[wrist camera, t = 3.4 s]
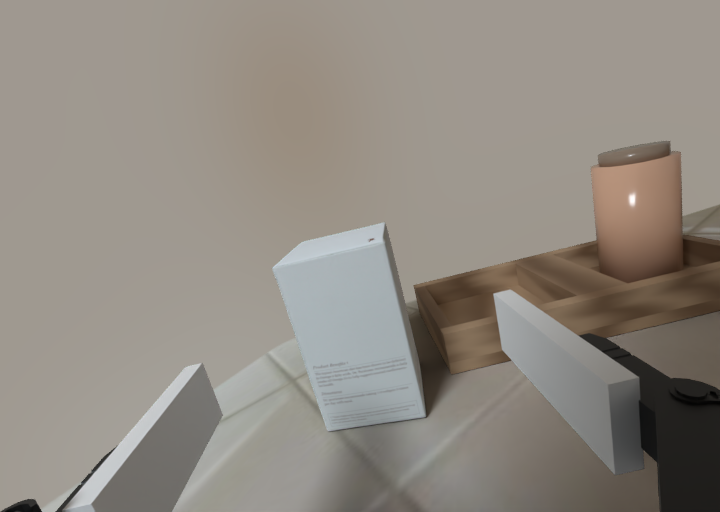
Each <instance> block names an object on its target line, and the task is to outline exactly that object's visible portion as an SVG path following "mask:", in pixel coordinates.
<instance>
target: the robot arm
mask: <svg viewBox="0 0 720 512" xmlns="http://www.w3.org/2000/svg"><path fill="white" fill-rule="evenodd" d="M493 295H494V301H495V307H496V314H497V320H498V327H499V333H500V339H501V346H502V350H503V351H504V352H505V353H506V355H507V356H508V357H509V358H510V359H511V360H512V361H513V362H514V363H515V365H516V366H517V367H518V368H519V369H520V370H521V371H522V372H523V373H524V375H525V376H526V377H527V378H528V379H529V380H530V381H531V382H532V383H533V385H534V386H535V387H536V388H537V389H538V390H539V391H540V392H541V393H542V395H543V396H544V397H545V398H546V399H547V400H548V401H549V402H550V403H551V405H552V406H553V407H554V408H555V409H556V410H557V411H558V412H559V413H560V415H561V416H562V417H563V418H564V419H565V420H566V421H567V422H568V423H569V425H570V426H571V427H572V428H573V429H574V430H575V431H576V432H577V434H578V435H579V436H580V437H581V438H582V439H583V440H584V441H585V442H586V444H587V445H588V446H589V447H590V448H591V449H592V450H593V451H594V452H595V454H596V455H597V456H598V457H599V458H600V459H601V460H602V461H603V462H604V464H605V465H606V466H607V467H608V468H609V469H610V470H611V471H612V472H613V474H614V475H619V474H623V473H628V472H632V471H637V470H641V469H644V458H643V450H644V451H645V452H646V453H647V454H649V455H650V456H651V457H652V458H653V459H654V460H655V461H656V462H657V467H658V490H659V505H660V512H720V390H718V389H717V388H715V387H713V386H710V385H708V384H705V383H703V382H699V381H695V380H690V379H681V378H672V379H671V378H669V377H668V376H666V375H664V374H663V373H661V372H660V371H658V370H656V369H655V368H653V367H651V366H650V365H648V364H647V363H645V362H643V361H642V360H640V359H639V358H637V357H635V356H634V355H633V356H632V355H631V353H629V352H627V351H626V350H624V349H620V347H619V346H618V345H616V344H614V343H613V342H611V341H610V340H608V339H606V338H603V337H600V336H597V335H594V334H591V333H587V334H583V335H579V336H578V335H576V334H575V333H574V332H572V331H571V330H569V329H568V328H566V327H565V326H563V325H562V324H560V323H559V322H557V321H556V320H555V319H553V318H552V317H550V316H549V315H547V314H546V313H544V312H543V311H541V310H540V309H538V308H537V307H536V306H534V305H533V304H531V303H530V302H528V301H527V300H525V299H524V298H522V297H521V296H519V295H518V294H517V293H515V292H514V291H512V290H511V289H510V290H506V291H502V292H498V293H494V294H493ZM222 416H223V414H222V412H221V409H220V406H219V404H218V401H217V399H216V396H215V394H214V391H213V388H212V386H211V383H210V381H209V378H208V376H207V373H206V370H205V368H204V365H203V363H199V364H195V365H191V366H187V367H185V368H184V369H183V371H182V372H181V373H180V374H179V375H178V376H177V378H176V379H175V380H174V381H173V382H172V384H171V385H170V386H169V387H168V388H167V389H166V390H165V392H164V393H163V394H162V395H161V396H160V398H159V399H158V400H157V401H156V402H155V403H154V404H153V405H152V407H151V408H150V409H149V410H148V411H147V412H146V414H145V415H144V416H143V417H142V418H141V419H140V421H139V422H138V423H137V424H136V425H135V426H134V428H133V429H132V430H131V431H130V432H129V433H128V435H127V436H126V437H125V438H124V439H123V440H122V441H121V443H120V444H119V445H118V446H117V447H115V448H114V449H113V450H112V451H111V452H109V453H108V454H107V455H106V456H104V457H103V459H101V461H100V462H99V463H98V464H97V465H96V466H95V467H94V469H93V470H92V472H91V473H90V474H88V475H87V477H86V478H85V479H84V480H83V481H82V482H81V485H79V486H78V487H77V488H76V489H75V490H74V491H73V493H72V494H71V495H70V496H69V497H68V498H67V499H66V500H65V502H64V503H63V504H62V505H61V506H60V507H59V508H58V510H57V511H56V512H172V510H173V508H174V506H175V505H176V503H177V501H178V499H179V497H180V495H181V493H182V491H183V489H184V488H185V486H186V484H187V482H188V480H189V478H190V476H191V474H192V472H193V471H194V469H195V467H196V465H197V463H198V461H199V459H200V457H201V455H202V454H203V452H204V450H205V448H206V446H207V444H208V442H209V440H210V438H211V437H212V435H213V433H214V431H215V429H216V427H217V425H218V423H219V421H220V420H221V418H222ZM1 512H42V511H41V509H40V508H39V506H38V504H37V502H36V501H35V500H34V499H27V500H24V501H21V502H18V503H16V504H14V505H12V506H10V507H8V508H6V509H4V510H3V511H1Z"/></svg>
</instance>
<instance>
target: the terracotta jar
mask: <svg viewBox="0 0 720 512" xmlns="http://www.w3.org/2000/svg"><path fill="white" fill-rule="evenodd" d="M598 162H599V164H598V165H595V166H592V167H591V177H592V189H593V201H594V212H595V225H596V236H597V249H598V262H599V273H602V274H604V275H607V276H610V277H612V278H615V279H618V280H620V281H623V282H625V283H632V282H636V281H640V280H644V279H649V278H653V277H657V276H661V275H665V274H669V273H673V272H677V271H682V270H683V228H682V185H681V184H682V182H681V152H678V151H676V152H675V151H672V152H671V150H670V141H662V142H654V143H647V144H641V145H635V146H630V147H625V148H621V149H617V150H612V151H608V152H604V153H601V154H599V155H598Z"/></svg>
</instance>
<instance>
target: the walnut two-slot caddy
mask: <svg viewBox="0 0 720 512" xmlns="http://www.w3.org/2000/svg"><path fill="white" fill-rule="evenodd" d="M414 289H415V294H416V298H417V303H418V307H419V312H420V315H421V317H422V319H423V321H424V323H425V325H426V326H427V328H428V330H429V332H430V334H431V336H432V338H433V340H434V342H435V344H436V346H437V348H438V349H439V351H440V353H441V355H442V357H443V359H444V361H445V363H446V365H447V367H448V369H449V370H450V372H451V374H456V373H460V372H464V371H468V370H473V369H477V368H481V367H485V366H489V365H493V364H498V363H502V362H506V361H510V360H511V359H510V358H509V357H508V356H507V355H506V353H505V352H504V351H503V350H502V346H501V339H500V333H499V327H498V320H497V314H496V307H495V301H494V295H493V294H494V293H498V292H502V291H506V290H510V289H511V290H512V291H514V292H515V293H517V294H518V295H519V296H521V297H522V298H524V299H525V300H527V301H528V302H530V303H531V304H533V305H534V306H536V307H537V308H538V309H540V310H541V311H543V312H544V313H546V314H547V315H549V316H550V317H552V318H553V319H555V320H556V321H557V322H559V323H560V324H562V325H563V326H565V327H566V328H568V329H569V330H571V331H572V332H574V333H575V334H576V335H578V336H579V335H583V334H587V333H591V334H594V335H597V336H600V337H603V338H607V337H611V336H615V335H619V334H623V333H628V332H632V331H636V330H640V329H644V328H649V327H653V326H657V325H661V324H665V323H669V322H674V321H678V320H682V319H686V318H690V317H695V316H699V315H703V314H707V313H711V312H716V311H720V241H718V240H712V239H706V238H701V237H695V236H689V235H683V270H682V271H677V272H673V273H669V274H665V275H661V276H657V277H653V278H649V279H644V280H640V281H636V282H632V283H625V282H623V281H620V280H618V279H615V278H612V277H610V276H607V275H604V274H602V273H599V262H598V249H597V240H596V241H592V242H588V243H584V244H580V245H576V246H572V247H568V248H564V249H559V250H556V251H552V252H547V253H543V254H539V255H535V256H531V257H527V258H523V259H519V260H515V261H511V262H506V263H502V264H498V265H494V266H490V267H486V268H482V269H478V270H474V271H470V272H466V273H462V274H458V275H454V276H450V277H446V278H442V279H437V280H433V281H429V282H425V283H421V284H417V285H414Z"/></svg>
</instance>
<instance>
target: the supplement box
mask: <svg viewBox="0 0 720 512" xmlns="http://www.w3.org/2000/svg"><path fill="white" fill-rule="evenodd" d="M272 270H273V272H274V275H275V277H276V280H277V283H278V285H279V288H280V291H281V294H282V297H283V300H284V303H285V305H286V309H287V312H288V315H289V318H290V321H291V324H292V327H293V330H294V333H295V336H296V339H297V342H298V345H299V349H300V351H301V354H302V357H303V360H304V363H305V367H306V370H307V373H308V376H309V379H310V382H311V385H312V388H313V391H314V394H315V397H316V399H317V402H318V405H319V408H320V411H321V414H322V417H323V420H324V422H325V425H326V428H327V431H335V430H341V429H347V428H354V427H361V426H368V425H375V424H381V423H388V422H396V421H403V420H410V419H416V418H423V417H426V409H425V402H424V393H423V384H422V376H421V369H420V362H419V357H418V353H417V349H416V345H415V341H414V337H413V333H412V329H411V325H410V321H409V317H408V312H407V308H406V304H405V300H404V296H403V292H402V288H401V283H400V279H399V275H398V271H397V267H396V263H395V259H394V255H393V251H392V246H391V242H390V238H389V234H388V231H387V227H386V224H385V223H379V224H376V225H371V226H367V227H364V228H359V229H355V230H351V231H347V232H343V233H338V234H334V235H330V236H325V237H321V238H317V239H313V240H308V241H303V242H302V243H300V244H299V245H298V246H296V248H294V249H293V250H292V251H291V252H290V253H288V254H287V255H286V256H285V257H284V258H283V259H282V260H281V261H280V262H279V263H277V264H276V265H275V266H274V267H273V268H272Z"/></svg>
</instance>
